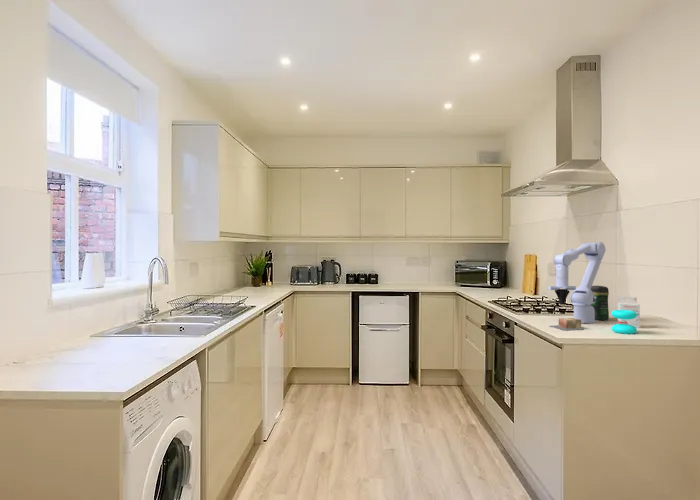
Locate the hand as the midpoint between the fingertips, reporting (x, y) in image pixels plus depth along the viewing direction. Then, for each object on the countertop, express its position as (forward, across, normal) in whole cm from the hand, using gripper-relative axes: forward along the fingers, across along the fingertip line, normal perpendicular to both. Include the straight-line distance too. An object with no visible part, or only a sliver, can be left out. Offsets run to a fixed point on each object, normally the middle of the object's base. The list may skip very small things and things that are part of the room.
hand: (562, 304), depth 225 cm
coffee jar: (+10, +31, +11) cm, 34 cm away
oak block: (+8, +1, -10) cm, 13 cm away
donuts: (+11, +14, -25) cm, 31 cm away
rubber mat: (+11, -5, -10) cm, 15 cm away
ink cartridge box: (+10, +27, -13) cm, 32 cm away
